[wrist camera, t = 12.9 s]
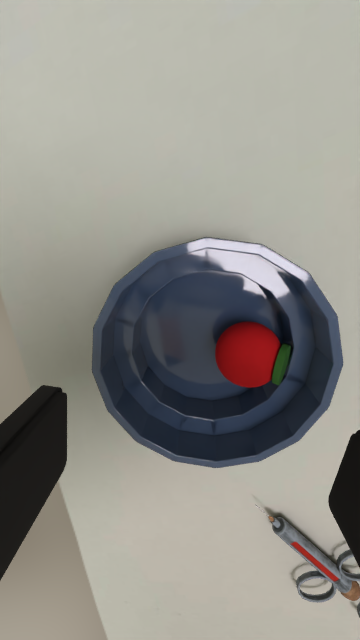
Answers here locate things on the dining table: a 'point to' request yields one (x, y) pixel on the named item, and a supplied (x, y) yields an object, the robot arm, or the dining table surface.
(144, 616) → the dining table surface
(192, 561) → the dining table surface
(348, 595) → the syringe
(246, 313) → the bowl
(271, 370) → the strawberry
